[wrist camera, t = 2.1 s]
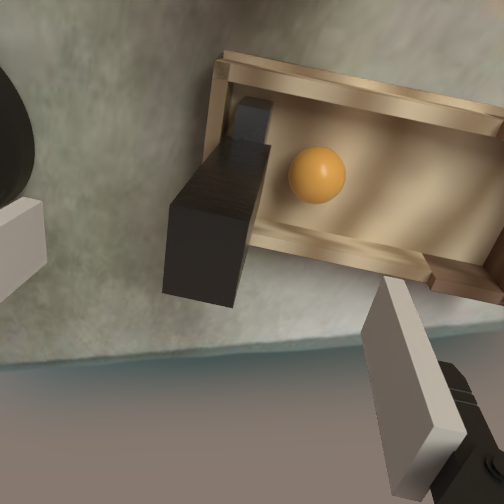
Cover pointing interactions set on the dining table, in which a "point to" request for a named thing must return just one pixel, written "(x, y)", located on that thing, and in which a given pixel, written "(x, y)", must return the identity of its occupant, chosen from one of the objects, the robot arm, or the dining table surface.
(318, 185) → the ball
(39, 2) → the dining table surface
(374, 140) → the tray
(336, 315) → the dining table surface
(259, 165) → the block
